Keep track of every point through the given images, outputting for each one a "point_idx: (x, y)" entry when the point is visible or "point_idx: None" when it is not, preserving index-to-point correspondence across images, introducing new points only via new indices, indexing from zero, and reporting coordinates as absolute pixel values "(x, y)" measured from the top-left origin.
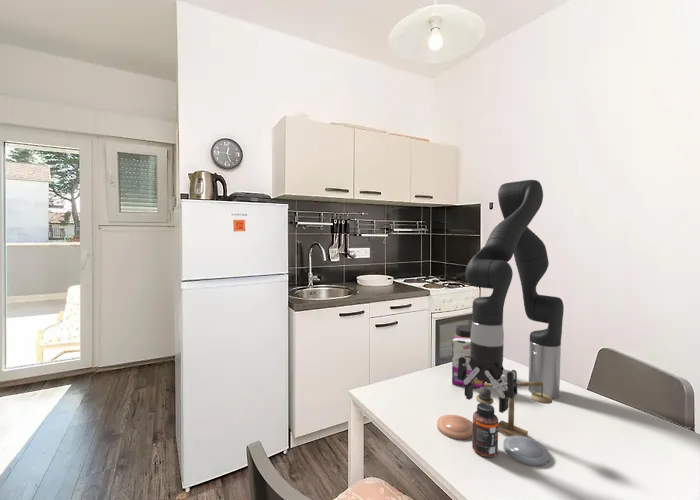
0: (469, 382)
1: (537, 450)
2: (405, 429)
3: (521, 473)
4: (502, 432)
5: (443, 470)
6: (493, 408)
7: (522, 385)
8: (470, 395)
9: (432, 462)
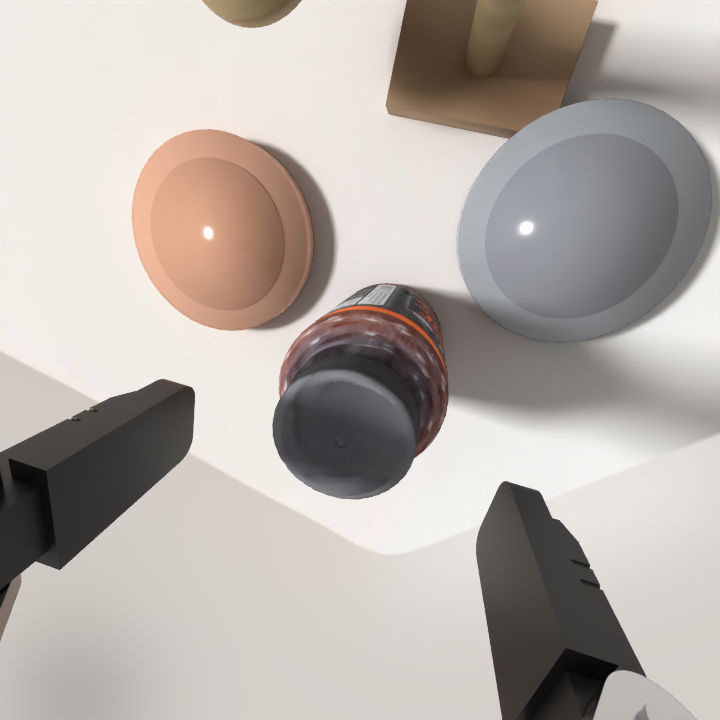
0: (2, 604)
1: (642, 225)
2: (100, 368)
3: (544, 400)
4: (435, 121)
5: (303, 503)
6: (409, 442)
7: None
8: (168, 439)
9: (262, 486)
